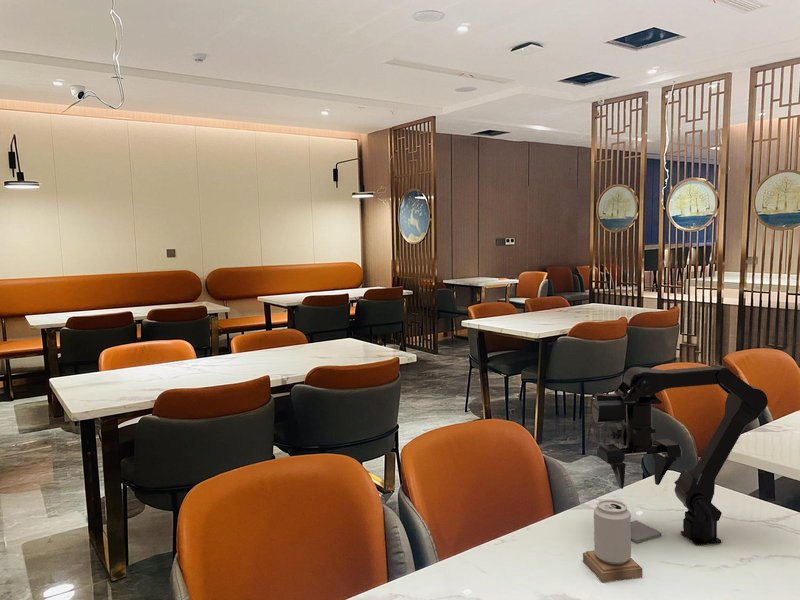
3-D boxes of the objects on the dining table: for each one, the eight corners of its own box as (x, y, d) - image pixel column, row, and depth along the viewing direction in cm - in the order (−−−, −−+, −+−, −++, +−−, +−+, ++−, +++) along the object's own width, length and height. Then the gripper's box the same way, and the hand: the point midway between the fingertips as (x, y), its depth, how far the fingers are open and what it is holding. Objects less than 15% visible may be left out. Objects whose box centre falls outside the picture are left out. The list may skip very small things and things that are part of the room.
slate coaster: (636, 523, 155) (636, 520, 155) (661, 536, 148) (661, 532, 148) (611, 530, 152) (611, 526, 152) (636, 543, 145) (636, 540, 145)
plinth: (620, 556, 139) (620, 545, 139) (642, 577, 130) (642, 566, 130) (583, 561, 138) (582, 550, 137) (602, 582, 129) (602, 571, 128)
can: (638, 562, 131) (638, 508, 130) (608, 569, 129) (607, 514, 128) (616, 546, 138) (616, 495, 137) (587, 552, 136) (586, 500, 135)
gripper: (655, 410, 154) (655, 470, 155) (586, 415, 151) (586, 477, 152) (683, 422, 143) (683, 487, 144) (608, 428, 140) (609, 495, 141)
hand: (639, 486), depth 146 cm, fingers open, 9 cm apart
